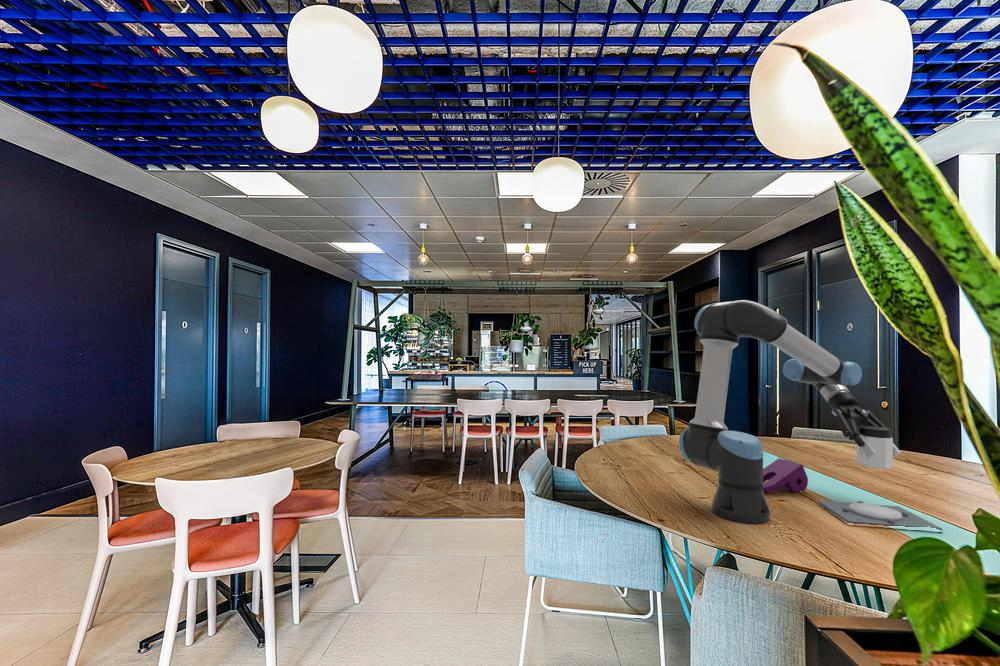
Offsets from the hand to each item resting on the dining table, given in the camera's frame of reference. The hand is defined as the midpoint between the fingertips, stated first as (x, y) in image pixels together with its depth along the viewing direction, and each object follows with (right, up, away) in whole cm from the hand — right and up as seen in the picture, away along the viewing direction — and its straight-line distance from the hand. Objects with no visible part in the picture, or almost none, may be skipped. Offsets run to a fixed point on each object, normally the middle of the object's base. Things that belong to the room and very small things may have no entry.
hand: (884, 454), depth 141 cm
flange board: (-10, -16, -8) cm, 21 cm away
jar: (-1, -4, +3) cm, 6 cm away
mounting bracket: (-23, -17, +18) cm, 34 cm away
